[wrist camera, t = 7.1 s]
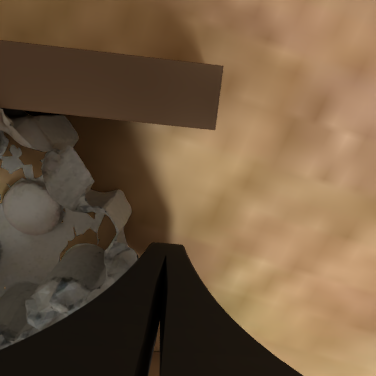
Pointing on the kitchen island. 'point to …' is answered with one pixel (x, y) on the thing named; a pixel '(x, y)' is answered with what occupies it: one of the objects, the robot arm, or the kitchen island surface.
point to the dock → (109, 89)
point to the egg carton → (52, 229)
